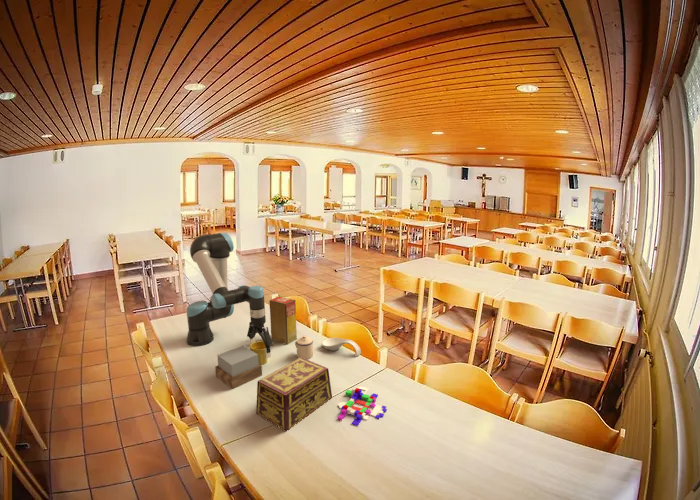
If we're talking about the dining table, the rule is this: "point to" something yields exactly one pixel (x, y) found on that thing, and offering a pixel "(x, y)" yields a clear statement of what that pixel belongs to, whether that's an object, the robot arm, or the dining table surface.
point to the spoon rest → (340, 344)
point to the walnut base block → (238, 376)
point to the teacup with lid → (304, 347)
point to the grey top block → (238, 360)
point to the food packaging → (283, 320)
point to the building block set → (356, 411)
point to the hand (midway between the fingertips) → (260, 353)
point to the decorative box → (293, 392)
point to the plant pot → (259, 351)
